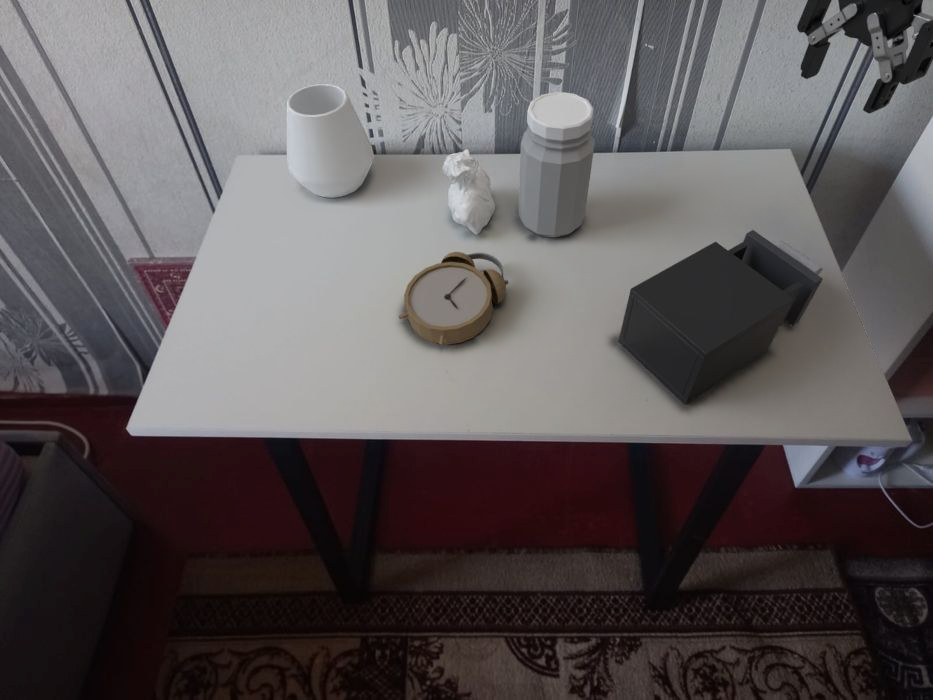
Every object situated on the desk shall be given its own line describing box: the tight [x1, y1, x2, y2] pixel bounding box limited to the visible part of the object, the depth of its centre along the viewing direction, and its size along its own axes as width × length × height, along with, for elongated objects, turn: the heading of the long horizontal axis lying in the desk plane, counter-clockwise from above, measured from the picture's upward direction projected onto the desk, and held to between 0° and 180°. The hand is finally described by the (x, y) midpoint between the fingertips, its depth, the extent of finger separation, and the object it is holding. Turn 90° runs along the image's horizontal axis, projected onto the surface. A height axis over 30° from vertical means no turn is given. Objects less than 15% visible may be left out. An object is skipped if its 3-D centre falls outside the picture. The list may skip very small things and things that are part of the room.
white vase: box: [286, 83, 375, 199], centre depth 99 cm, size 13×13×14 cm
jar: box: [517, 91, 596, 239], centre depth 90 cm, size 10×10×18 cm
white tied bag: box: [441, 148, 496, 235], centre depth 94 cm, size 12×8×11 cm
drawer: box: [727, 229, 824, 328], centre depth 80 cm, size 17×10×8 cm, turn 123°
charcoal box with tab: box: [618, 241, 794, 406], centre depth 77 cm, size 14×12×10 cm
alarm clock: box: [398, 251, 509, 347], centre depth 85 cm, size 11×5×15 cm
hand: (838, 92), depth 73 cm, fingers open, 8 cm apart
